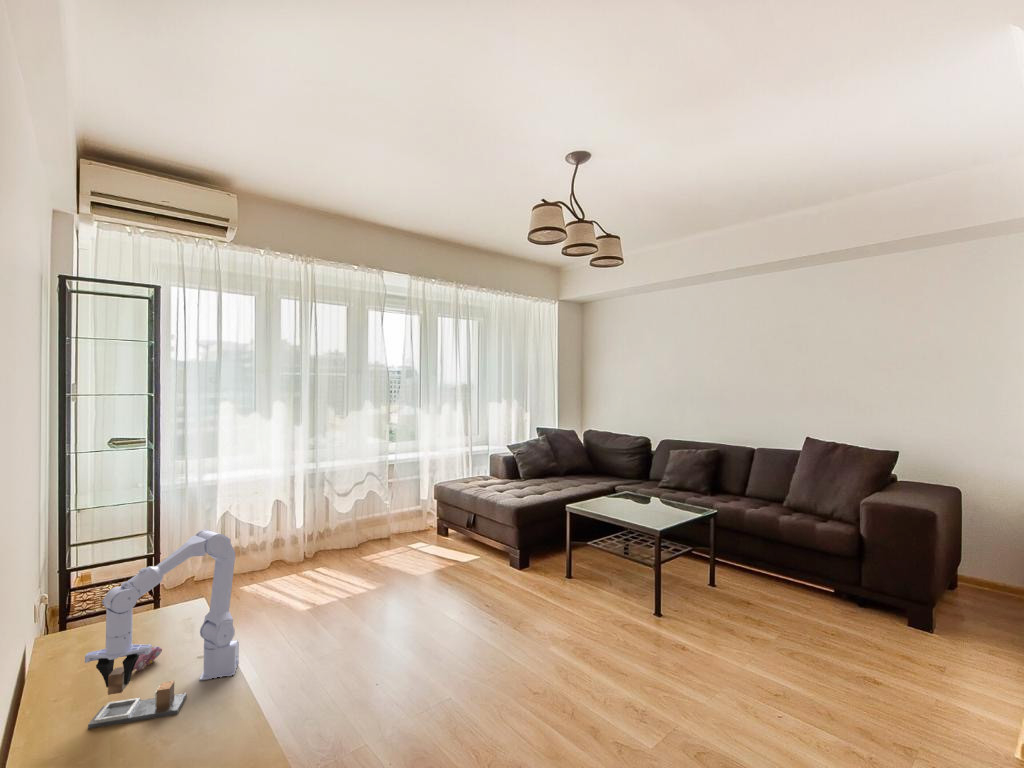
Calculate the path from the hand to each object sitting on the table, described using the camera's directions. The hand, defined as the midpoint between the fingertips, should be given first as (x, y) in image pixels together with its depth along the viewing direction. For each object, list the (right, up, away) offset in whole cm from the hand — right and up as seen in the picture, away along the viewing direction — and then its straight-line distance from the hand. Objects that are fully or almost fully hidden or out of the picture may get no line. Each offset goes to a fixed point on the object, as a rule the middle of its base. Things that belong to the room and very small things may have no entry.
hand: (118, 684), depth 136 cm
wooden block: (0, -2, 0) cm, 2 cm away
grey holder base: (+5, -8, +1) cm, 10 cm away
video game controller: (-11, -9, +24) cm, 28 cm away
